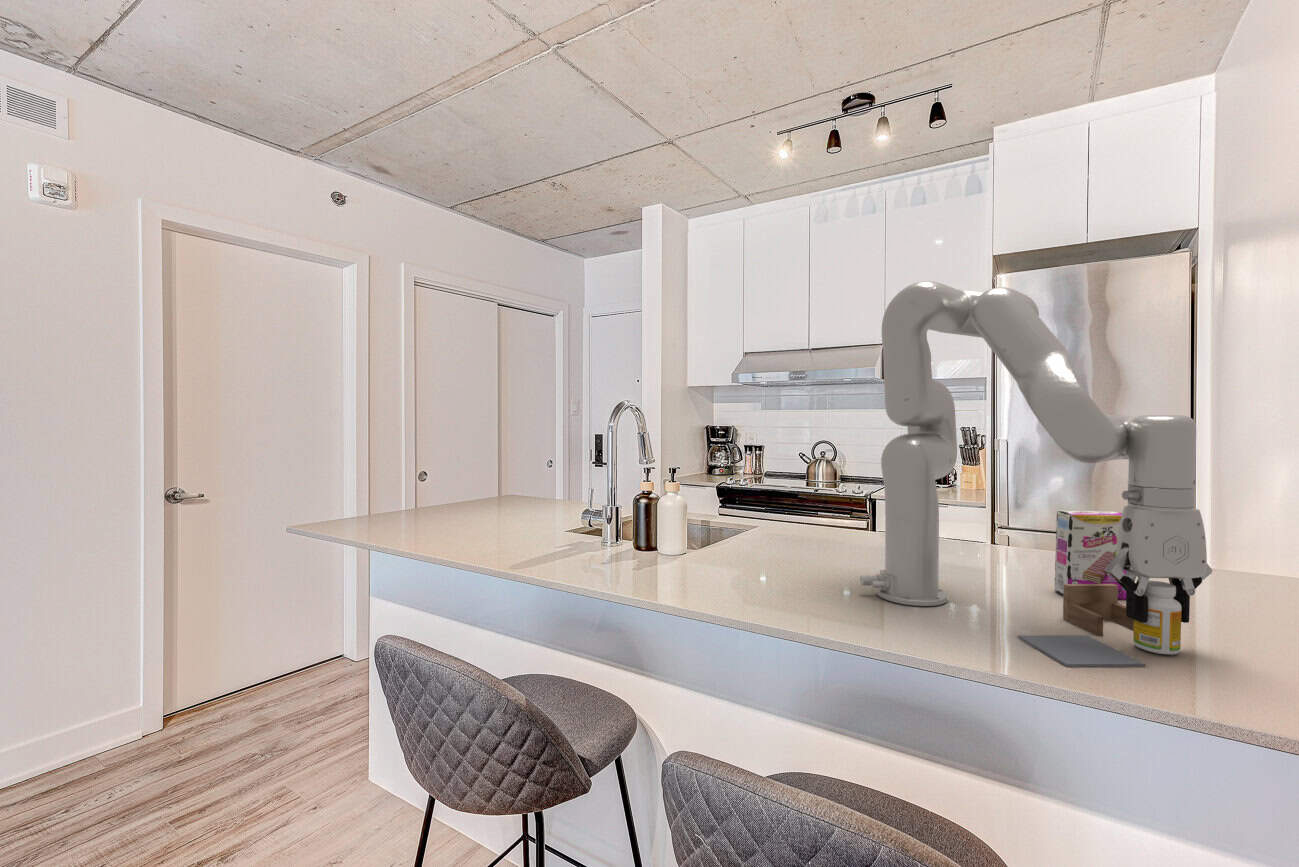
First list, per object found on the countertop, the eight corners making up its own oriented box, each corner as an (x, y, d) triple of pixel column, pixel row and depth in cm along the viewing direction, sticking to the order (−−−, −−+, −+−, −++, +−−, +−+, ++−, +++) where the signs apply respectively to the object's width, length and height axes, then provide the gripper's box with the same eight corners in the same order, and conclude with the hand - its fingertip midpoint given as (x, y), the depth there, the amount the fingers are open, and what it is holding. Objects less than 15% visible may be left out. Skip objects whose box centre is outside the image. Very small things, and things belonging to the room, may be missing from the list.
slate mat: (1066, 667, 84) (1066, 664, 84) (1017, 637, 95) (1018, 635, 95) (1145, 666, 84) (1145, 663, 84) (1087, 637, 95) (1087, 635, 95)
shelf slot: (1096, 635, 96) (1097, 597, 95) (1063, 618, 103) (1063, 584, 103) (1150, 634, 96) (1151, 597, 95) (1112, 618, 103) (1113, 583, 103)
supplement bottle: (1169, 643, 91) (1171, 580, 91) (1188, 657, 86) (1190, 590, 86) (1126, 639, 93) (1128, 577, 92) (1142, 652, 88) (1144, 587, 87)
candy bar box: (1068, 599, 114) (1069, 513, 114) (1053, 591, 119) (1054, 509, 119) (1131, 601, 113) (1133, 514, 113) (1113, 593, 118) (1115, 510, 118)
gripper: (1122, 502, 85) (1119, 628, 85) (1243, 502, 85) (1239, 628, 85) (1083, 495, 92) (1081, 611, 93) (1194, 495, 92) (1191, 611, 93)
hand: (1157, 618), depth 89 cm, fingers closed on supplement bottle, 5 cm apart
